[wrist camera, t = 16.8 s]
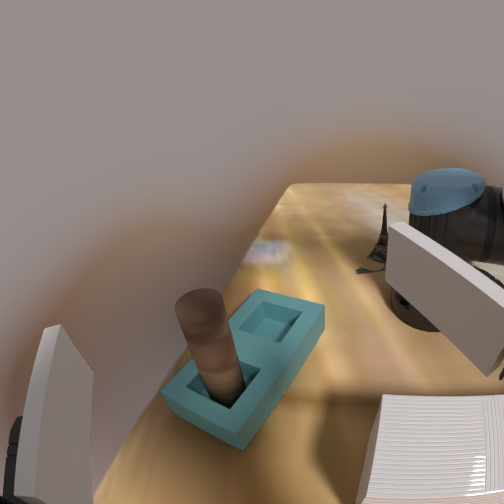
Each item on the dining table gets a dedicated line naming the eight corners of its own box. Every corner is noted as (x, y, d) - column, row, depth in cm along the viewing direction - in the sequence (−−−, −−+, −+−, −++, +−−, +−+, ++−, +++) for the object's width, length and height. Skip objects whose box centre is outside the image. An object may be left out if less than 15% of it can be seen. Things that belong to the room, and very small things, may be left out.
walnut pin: (224, 374, 43) (195, 284, 35) (254, 387, 40) (232, 295, 32) (203, 399, 39) (165, 311, 31) (233, 414, 37) (201, 326, 29)
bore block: (261, 311, 56) (257, 288, 54) (324, 328, 50) (324, 304, 47) (172, 411, 39) (159, 391, 37) (243, 451, 33) (235, 434, 31)
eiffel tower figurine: (355, 277, 61) (356, 215, 54) (344, 251, 70) (342, 195, 63) (422, 266, 60) (429, 207, 53) (404, 243, 69) (407, 189, 62)
